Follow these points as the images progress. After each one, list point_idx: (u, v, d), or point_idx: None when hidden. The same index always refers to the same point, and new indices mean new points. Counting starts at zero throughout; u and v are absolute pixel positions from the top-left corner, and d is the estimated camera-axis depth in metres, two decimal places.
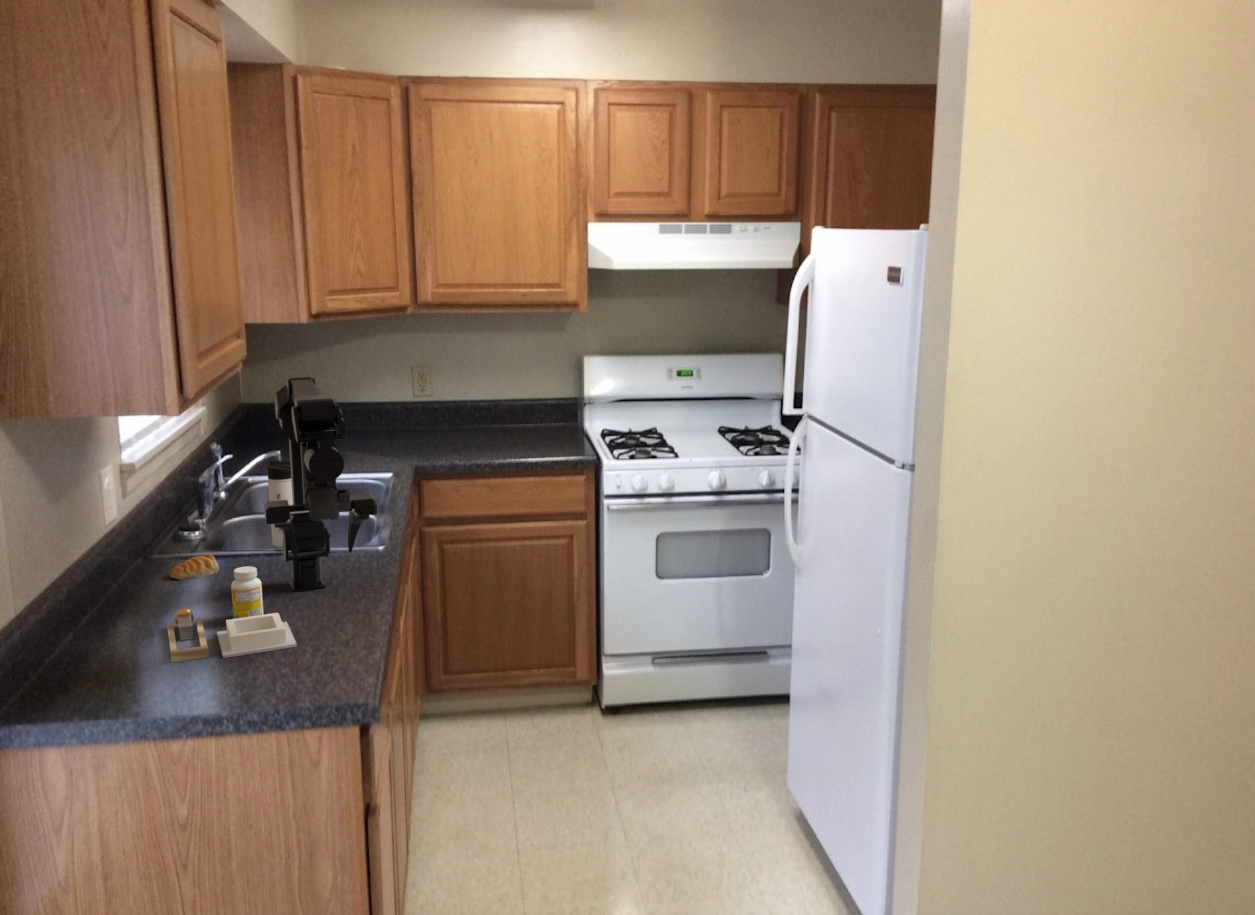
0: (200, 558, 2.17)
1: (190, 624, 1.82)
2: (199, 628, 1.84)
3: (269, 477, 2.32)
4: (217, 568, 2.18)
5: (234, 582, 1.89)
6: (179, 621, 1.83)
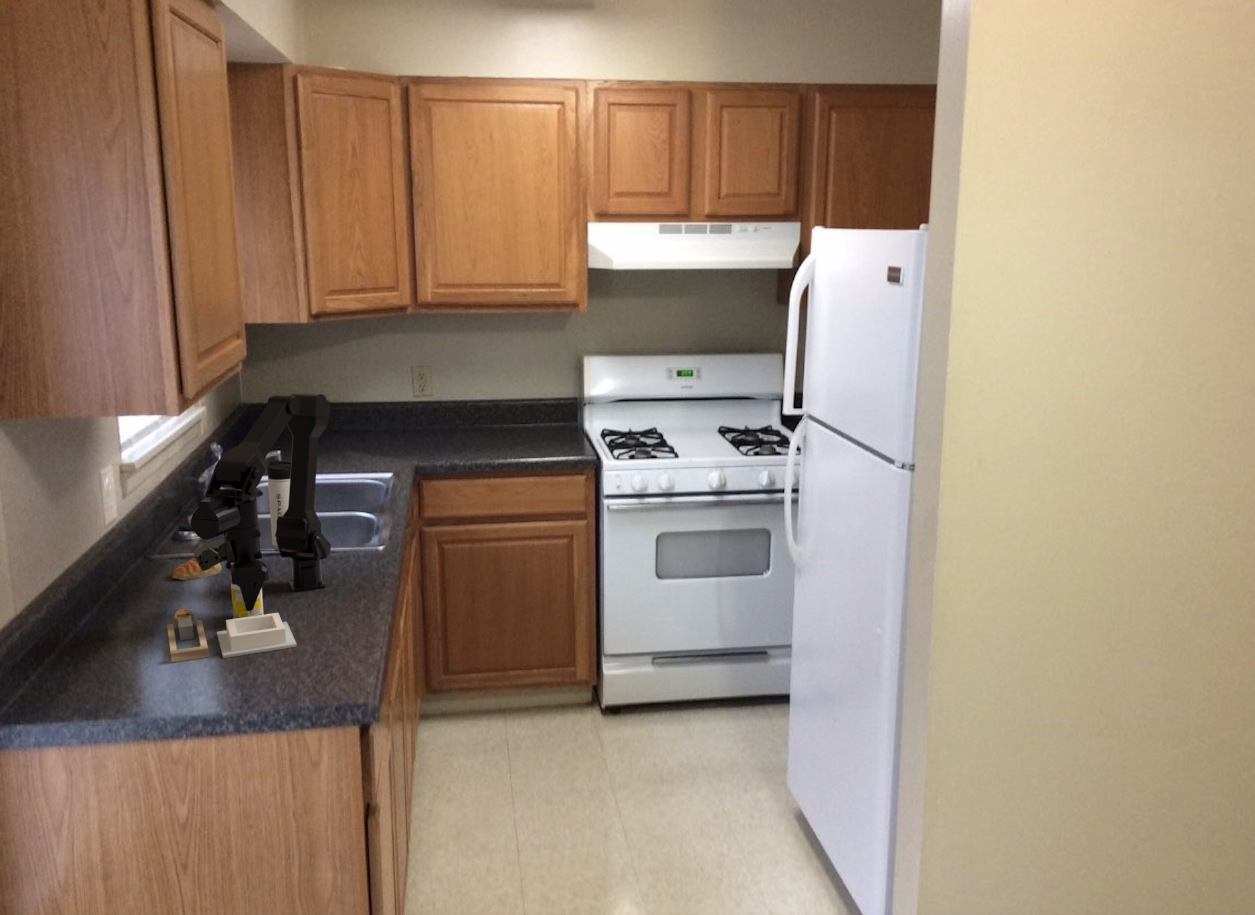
0: None
1: (190, 624, 1.82)
2: (199, 628, 1.84)
3: (269, 477, 2.32)
4: (219, 568, 2.18)
5: None
6: (179, 621, 1.83)
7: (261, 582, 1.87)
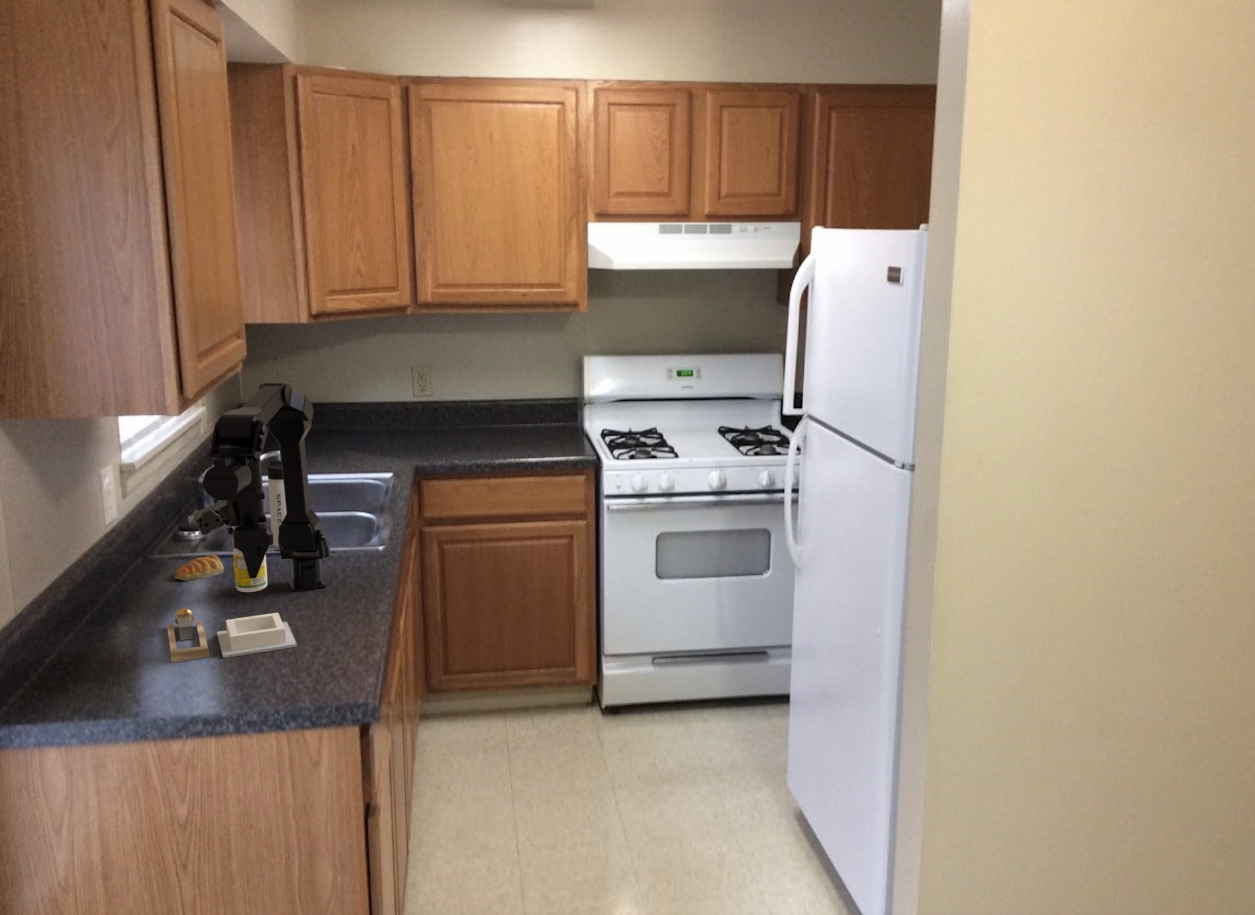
0: (205, 559, 2.17)
1: (190, 624, 1.82)
2: (199, 628, 1.84)
3: (269, 477, 2.32)
4: (222, 569, 2.18)
5: None
6: (179, 621, 1.83)
7: (265, 547, 1.74)
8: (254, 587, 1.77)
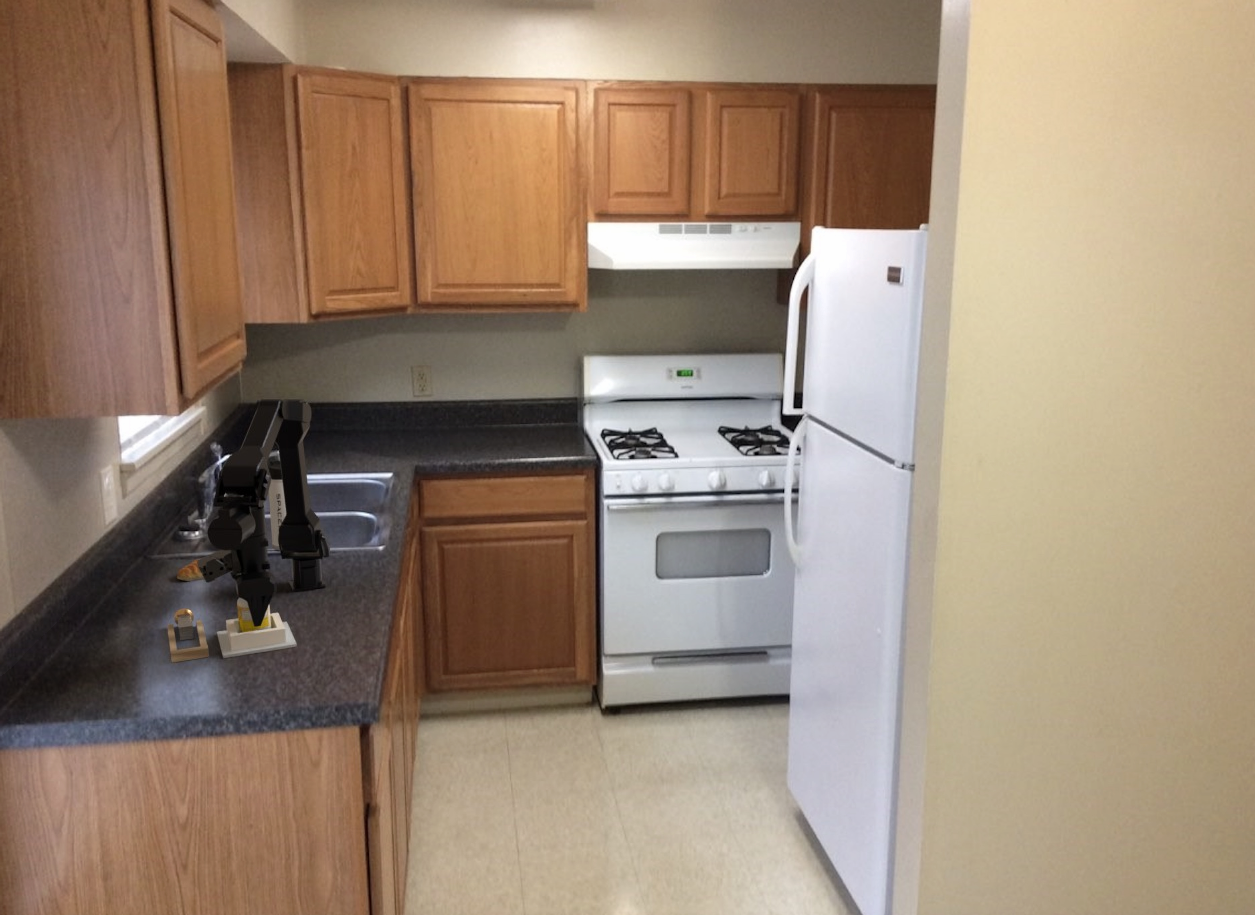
0: None
1: (190, 624, 1.82)
2: (199, 628, 1.84)
3: None
4: None
5: (240, 599, 1.79)
6: (179, 621, 1.83)
7: (270, 596, 1.75)
8: None
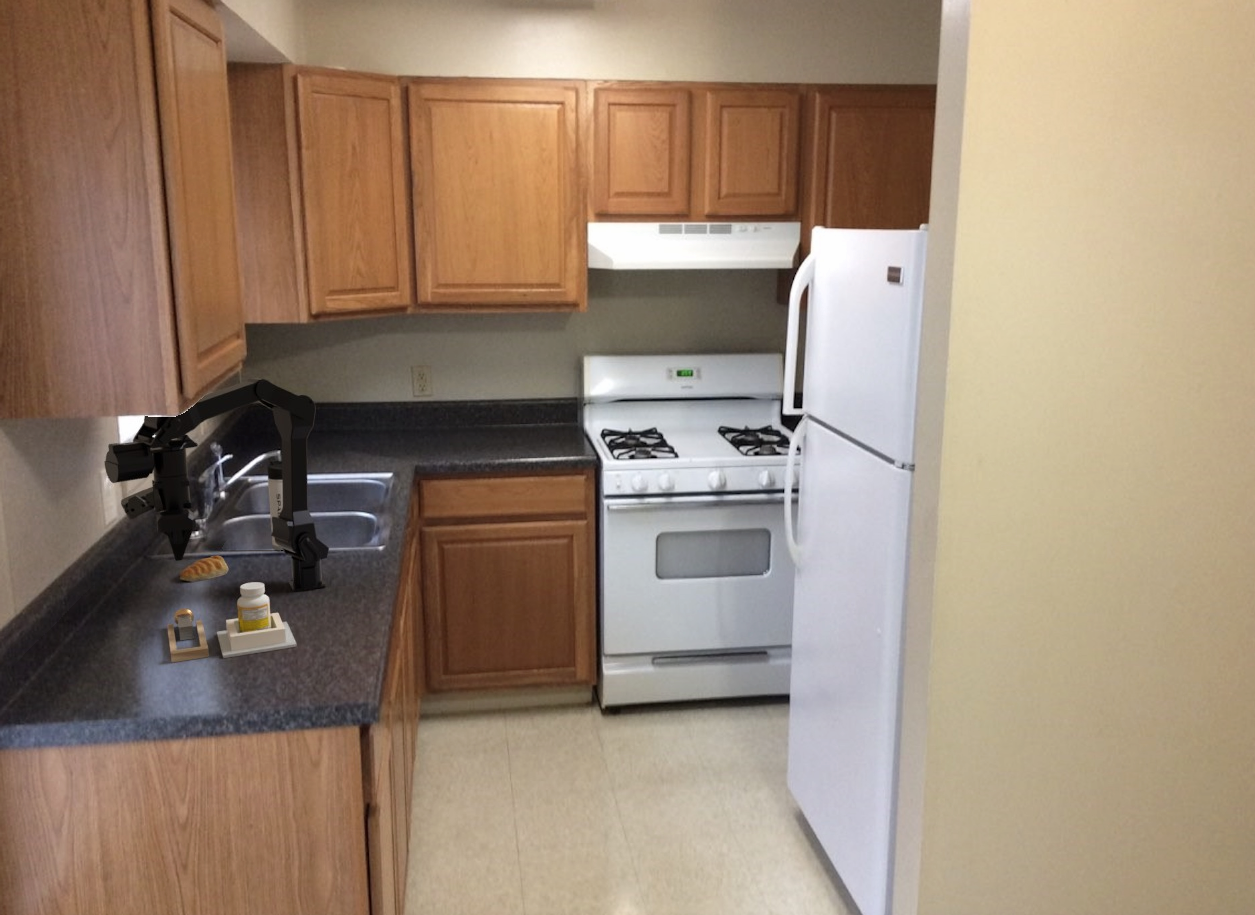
0: (209, 560, 2.16)
1: (190, 624, 1.82)
2: (199, 628, 1.84)
3: (269, 477, 2.32)
4: (227, 569, 2.18)
5: (240, 599, 1.79)
6: (179, 621, 1.83)
7: (190, 531, 1.85)
8: None
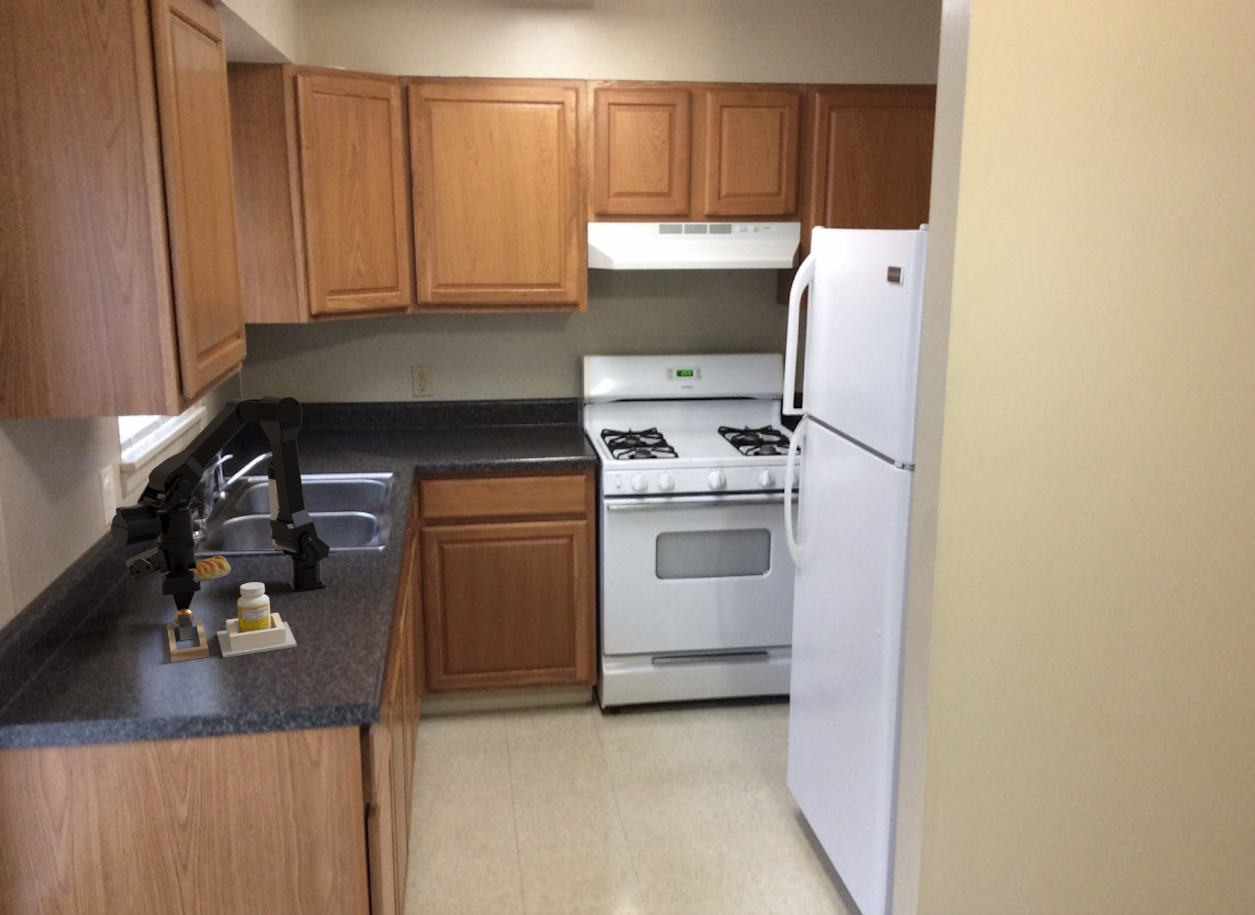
0: (212, 560, 2.16)
1: (190, 624, 1.82)
2: (199, 628, 1.84)
3: (269, 477, 2.32)
4: (229, 569, 2.17)
5: (240, 599, 1.79)
6: (179, 621, 1.83)
7: None
8: None
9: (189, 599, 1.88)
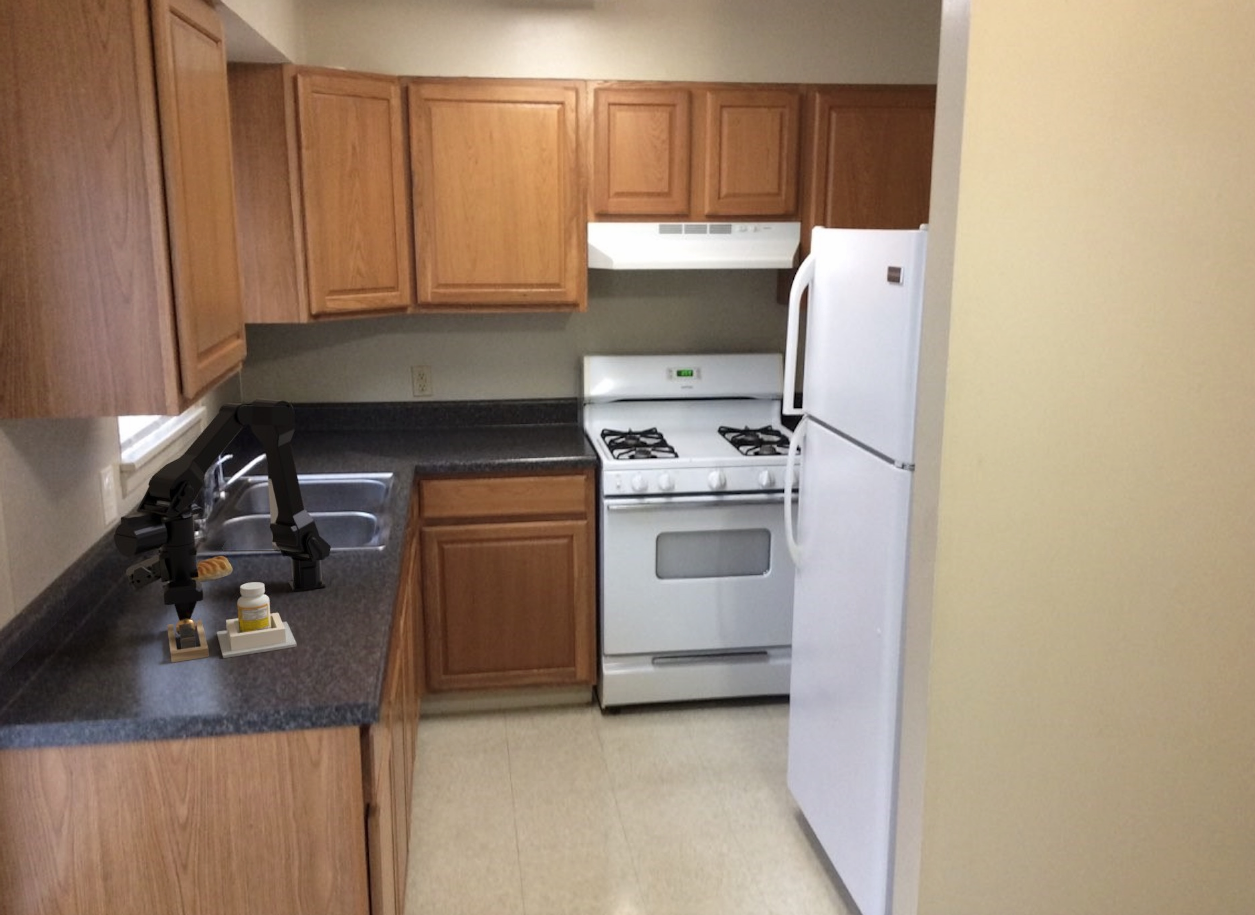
0: (213, 560, 2.16)
1: (192, 635, 1.77)
2: (199, 628, 1.84)
3: (269, 477, 2.32)
4: (231, 569, 2.17)
5: (240, 599, 1.79)
6: (181, 631, 1.79)
7: None
8: None
9: (191, 608, 1.83)
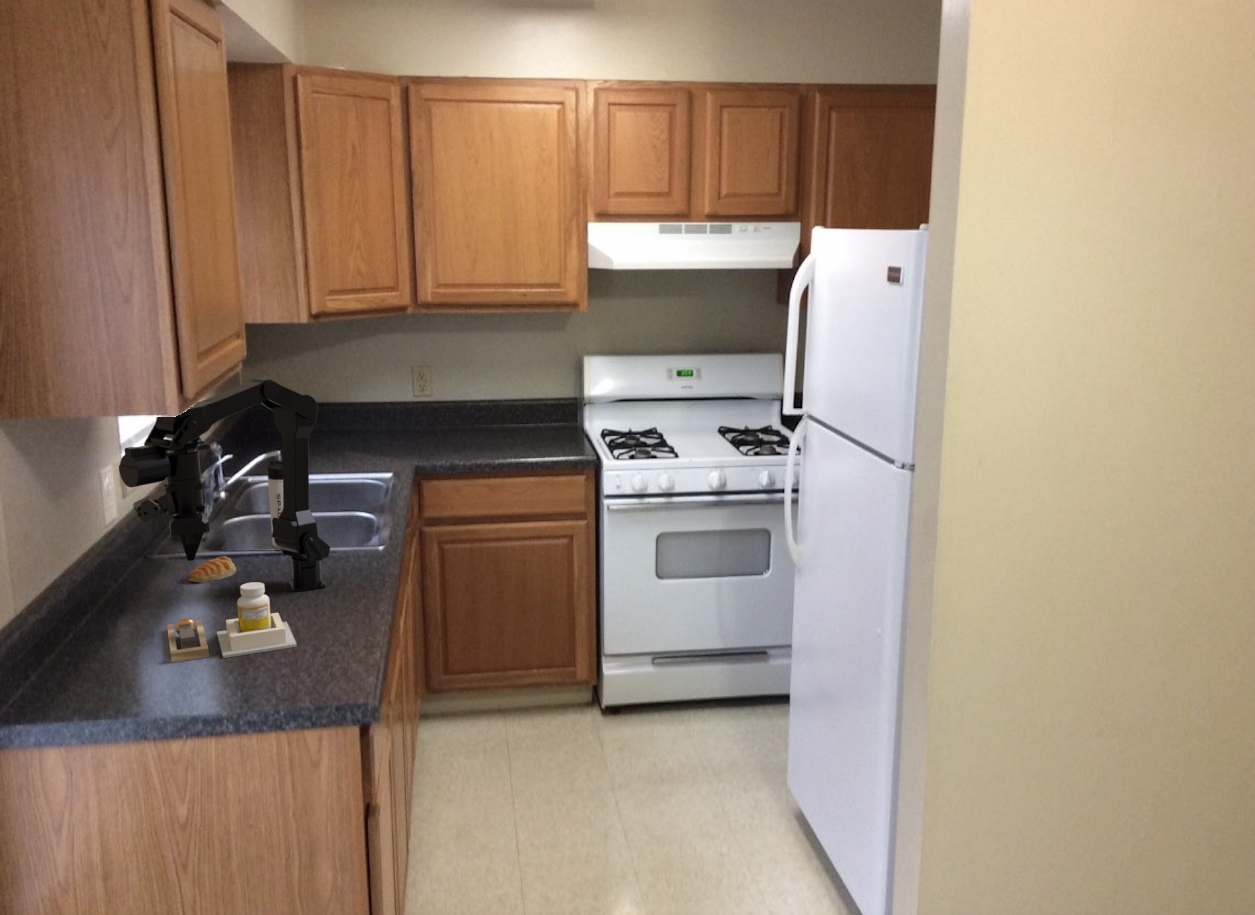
0: (217, 560, 2.16)
1: (192, 635, 1.77)
2: (199, 628, 1.84)
3: (269, 477, 2.32)
4: (235, 569, 2.17)
5: (240, 599, 1.79)
6: (181, 631, 1.79)
7: None
8: None
9: (197, 543, 1.86)
